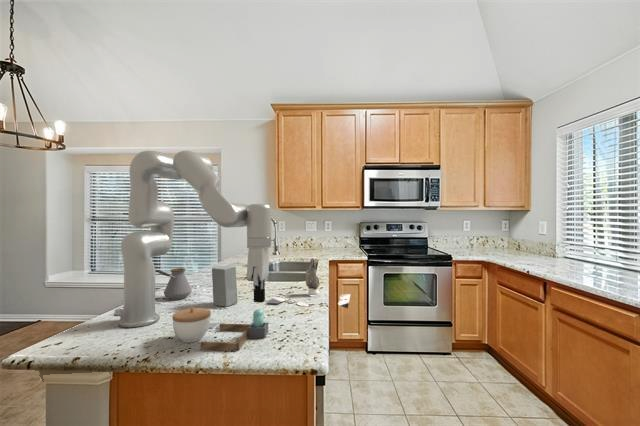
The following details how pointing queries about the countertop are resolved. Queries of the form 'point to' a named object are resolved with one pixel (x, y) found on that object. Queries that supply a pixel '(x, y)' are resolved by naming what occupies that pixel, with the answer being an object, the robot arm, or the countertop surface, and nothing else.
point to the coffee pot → (176, 285)
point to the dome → (258, 318)
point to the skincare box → (224, 286)
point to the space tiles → (214, 325)
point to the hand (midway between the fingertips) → (259, 301)
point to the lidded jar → (191, 324)
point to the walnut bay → (228, 345)
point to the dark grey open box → (257, 331)
